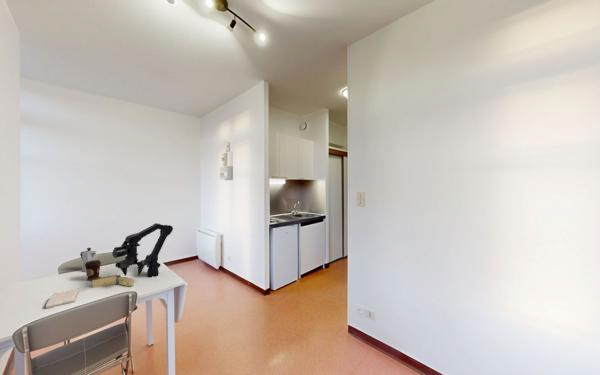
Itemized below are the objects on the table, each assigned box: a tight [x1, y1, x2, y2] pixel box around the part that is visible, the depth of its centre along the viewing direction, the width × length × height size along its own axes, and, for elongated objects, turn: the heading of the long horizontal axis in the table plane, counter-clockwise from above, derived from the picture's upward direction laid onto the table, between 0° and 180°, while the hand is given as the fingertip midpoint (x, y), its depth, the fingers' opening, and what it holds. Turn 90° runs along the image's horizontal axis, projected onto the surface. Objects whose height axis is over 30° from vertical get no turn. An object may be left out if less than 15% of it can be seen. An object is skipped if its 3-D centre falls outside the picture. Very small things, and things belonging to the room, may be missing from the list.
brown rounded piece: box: [85, 259, 102, 281], centre depth 160 cm, size 9×8×13 cm
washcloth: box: [45, 288, 80, 309], centre depth 133 cm, size 12×18×3 cm, turn 40°
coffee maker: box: [80, 247, 97, 273], centre depth 176 cm, size 15×9×18 cm, turn 77°
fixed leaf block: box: [92, 274, 118, 289], centre depth 152 cm, size 12×4×5 cm, turn 118°
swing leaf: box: [115, 274, 134, 287], centre depth 151 cm, size 15×3×6 cm, turn 73°
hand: (132, 275), depth 155 cm, fingers open, 9 cm apart
